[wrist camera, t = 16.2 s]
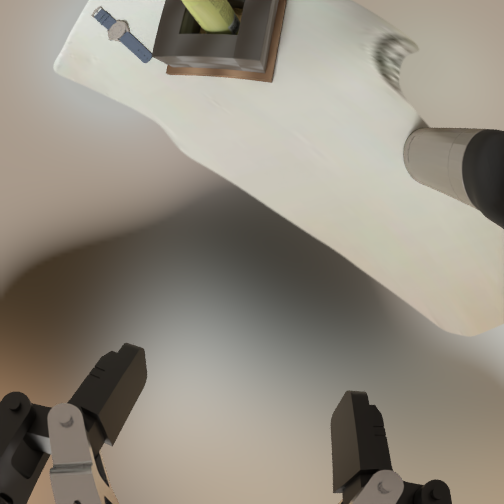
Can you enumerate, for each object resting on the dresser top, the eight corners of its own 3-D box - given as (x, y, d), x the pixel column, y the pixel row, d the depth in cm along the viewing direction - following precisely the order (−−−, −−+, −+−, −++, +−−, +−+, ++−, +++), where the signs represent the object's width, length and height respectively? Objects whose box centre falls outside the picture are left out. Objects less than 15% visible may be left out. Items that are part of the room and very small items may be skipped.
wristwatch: (102, 3, 32) (99, 1, 31) (159, 52, 37) (156, 50, 36) (88, 19, 34) (85, 17, 33) (141, 70, 38) (138, 69, 37)
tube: (198, 31, 33) (137, -26, 15) (220, 8, 31) (174, -60, 13) (226, 49, 33) (177, -9, 15) (249, 25, 32) (218, -45, 14)
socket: (287, -4, 31) (285, -31, 22) (271, 82, 37) (267, 68, 29) (188, -7, 32) (169, -30, 23) (169, 74, 38) (143, 63, 30)
